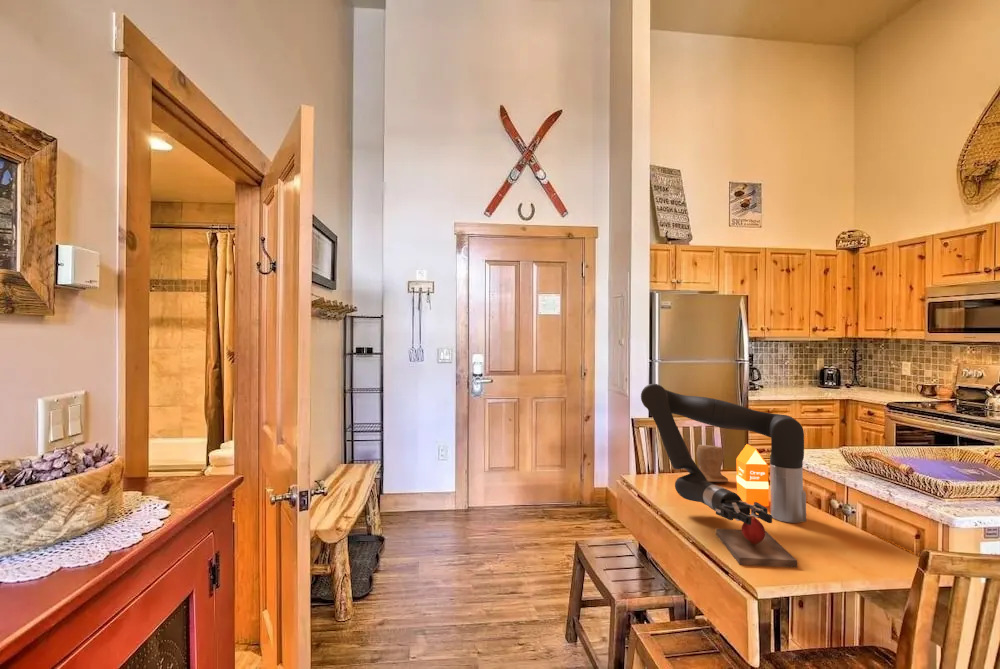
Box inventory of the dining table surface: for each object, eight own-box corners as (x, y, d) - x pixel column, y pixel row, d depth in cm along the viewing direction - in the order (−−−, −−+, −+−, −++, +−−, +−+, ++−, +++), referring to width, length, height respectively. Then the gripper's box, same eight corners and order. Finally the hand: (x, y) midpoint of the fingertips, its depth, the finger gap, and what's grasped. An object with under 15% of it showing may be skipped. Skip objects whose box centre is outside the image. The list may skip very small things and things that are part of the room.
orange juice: (758, 498, 180) (757, 443, 181) (769, 506, 172) (768, 449, 172) (736, 497, 181) (735, 443, 182) (745, 505, 172) (745, 448, 173)
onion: (745, 538, 139) (744, 510, 139) (767, 543, 135) (766, 514, 136) (739, 545, 135) (738, 515, 135) (763, 550, 131) (761, 520, 131)
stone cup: (721, 477, 208) (720, 442, 209) (731, 485, 197) (730, 448, 197) (684, 476, 210) (684, 441, 210) (692, 484, 198) (691, 447, 199)
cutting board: (765, 536, 145) (765, 530, 145) (797, 567, 125) (797, 560, 125) (716, 534, 147) (715, 528, 147) (739, 564, 127) (739, 557, 127)
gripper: (700, 489, 148) (736, 508, 131) (742, 486, 150) (783, 504, 134) (700, 514, 148) (737, 536, 131) (743, 511, 150) (784, 532, 134)
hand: (760, 520), depth 133 cm, fingers open, 5 cm apart
